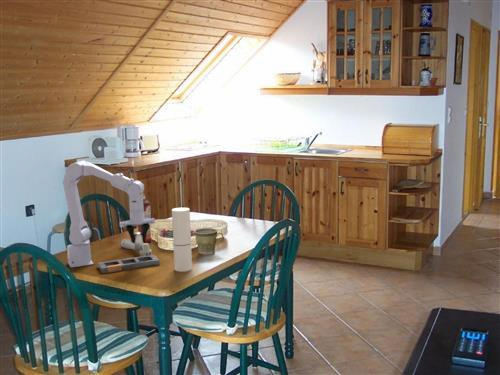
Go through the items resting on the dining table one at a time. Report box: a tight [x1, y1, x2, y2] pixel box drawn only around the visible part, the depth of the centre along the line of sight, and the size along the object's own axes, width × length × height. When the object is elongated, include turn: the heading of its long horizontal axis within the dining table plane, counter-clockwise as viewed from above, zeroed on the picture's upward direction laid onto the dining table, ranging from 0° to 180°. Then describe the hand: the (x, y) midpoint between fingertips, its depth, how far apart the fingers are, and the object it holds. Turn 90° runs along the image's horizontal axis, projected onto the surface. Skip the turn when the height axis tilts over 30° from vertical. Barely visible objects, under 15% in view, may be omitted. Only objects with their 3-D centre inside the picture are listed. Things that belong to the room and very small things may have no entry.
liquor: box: [136, 183, 153, 244], centre depth 296 cm, size 7×7×28 cm
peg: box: [133, 231, 144, 252], centre depth 261 cm, size 4×4×7 cm
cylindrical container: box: [171, 207, 193, 273], centre depth 252 cm, size 7×7×25 cm
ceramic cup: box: [194, 227, 224, 255], centre depth 276 cm, size 13×10×10 cm
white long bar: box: [119, 238, 153, 257], centre depth 281 cm, size 5×7×25 cm
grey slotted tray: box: [97, 254, 161, 274], centre depth 260 cm, size 24×9×2 cm, turn 114°
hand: (138, 241), depth 261 cm, fingers closed on peg, 4 cm apart
